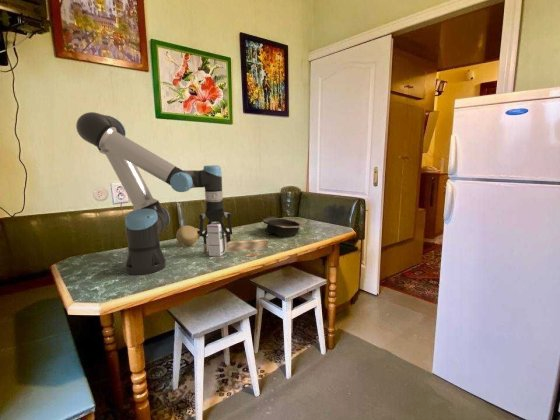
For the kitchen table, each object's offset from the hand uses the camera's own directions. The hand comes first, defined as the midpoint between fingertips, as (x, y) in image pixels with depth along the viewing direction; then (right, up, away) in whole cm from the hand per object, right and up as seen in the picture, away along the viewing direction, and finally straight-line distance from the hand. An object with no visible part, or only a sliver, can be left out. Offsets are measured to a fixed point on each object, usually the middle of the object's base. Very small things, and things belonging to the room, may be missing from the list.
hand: (216, 250), depth 139 cm
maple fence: (+9, -2, +2) cm, 9 cm away
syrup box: (0, -2, 0) cm, 2 cm away
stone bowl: (+31, +5, +36) cm, 48 cm away
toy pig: (-17, 0, +15) cm, 22 cm away
